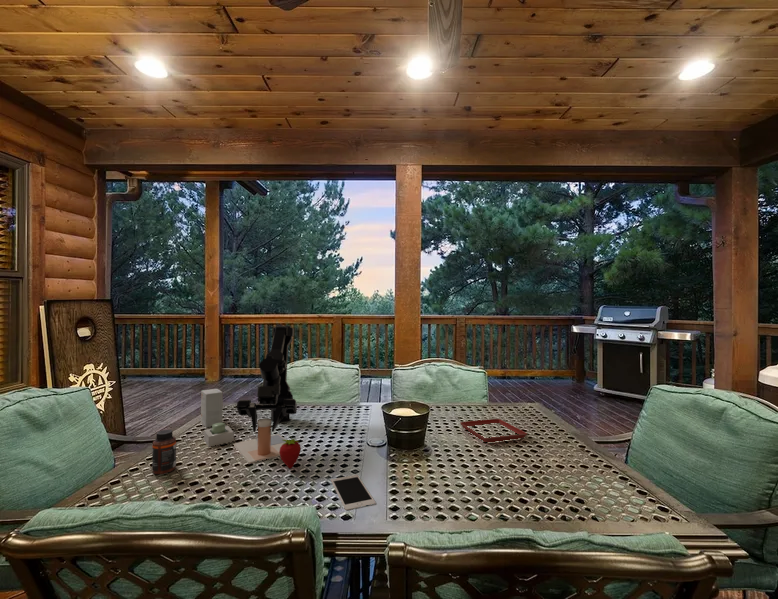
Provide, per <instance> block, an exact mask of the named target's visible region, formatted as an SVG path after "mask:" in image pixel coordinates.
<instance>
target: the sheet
mask: <svg viewBox="0 0 778 599" xmlns="http://www.w3.org/2000/svg"><path fill="white" fill-rule="evenodd" d="M283 440H286V438H284V437H283V436H281V435H280V434H279V433H277V434H271V453H270V454H268V455H264V456H261V455H258V437H257V438H253V439H249V440H244V441H239V442H236V443H234V442H233V443H232V446H233V445H234V446H233V447H234V448H235V449H237V450H238V451H239V452H238V451H237V450H236V451H237V452H238V453H239V454H240V456H241V457H242V456H243V457H244V458H243V457H242V458H243V459H244V460H245V462H246V463H247V462H248V463H247V464H248V465H250V464H255V463H258V462H257V461H259V462H263V461H266V459H267V460H271V459H275V458H279V457H280V453H279V452H280V447H281V446H282V445H283V444H284V443H286V441H283ZM262 460H263V461H262Z"/></svg>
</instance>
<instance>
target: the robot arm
mask: <svg viewBox="0 0 778 599" xmlns="http://www.w3.org/2000/svg"><path fill="white" fill-rule="evenodd" d="M271 330H272V333H271V334H272V335H271V336H272V337H273V338H272V343H271V347H270V348H271V349H270V351H269V352H267V354H266V355H265V358H264V359H263V360H261V361H260V362H259V371H260V375H261V378H262V379H263V380H262V385H261V386H258V387H257V396H256V397H257V402H258V403H255V402H252V401H251V399H239V400H238V401H237V402H236V407H235V408H236V410H237V412H238V415H239V416H247V417H248V418H251V424H252V430H253V433H256V431H257V427H258V412H257V411H264V410H265V411H267V410H270V419H271V422H273V423H272V425H271V433H273V432H274V431H275V430H276V429H277V427H278V425H279V424H281V423H285V422H289V421H292V419H291V417H290V415H296V414H297V412H298V411H297V408H298V407H297V400H296V399H295V398H294V396H293V394H292V391H291V387H290V385H289V383H288V381H287V377H288V357H289V356H288V355H289V346H290V345H291V343H292V342H293V338H294V336H295V329H294V327H292V326H291V325H276V326H274V327H272V328H271Z"/></svg>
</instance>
